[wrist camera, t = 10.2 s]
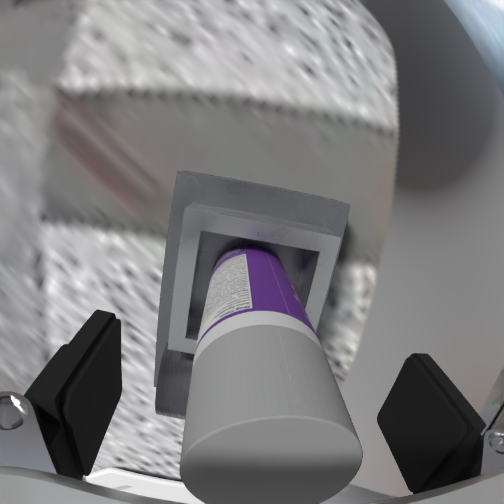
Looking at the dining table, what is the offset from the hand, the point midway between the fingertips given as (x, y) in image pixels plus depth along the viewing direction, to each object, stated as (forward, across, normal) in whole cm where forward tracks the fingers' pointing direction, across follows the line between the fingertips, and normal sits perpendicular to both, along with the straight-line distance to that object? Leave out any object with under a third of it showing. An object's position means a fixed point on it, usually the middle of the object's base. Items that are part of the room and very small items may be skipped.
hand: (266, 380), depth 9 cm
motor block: (+15, 0, +3) cm, 15 cm away
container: (+12, 0, +1) cm, 12 cm away
